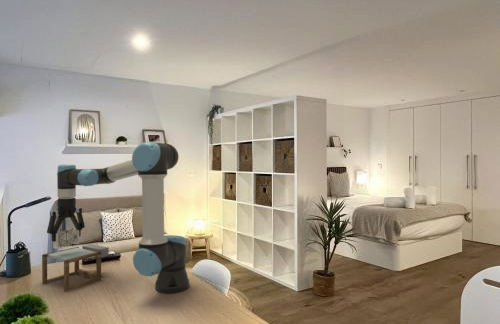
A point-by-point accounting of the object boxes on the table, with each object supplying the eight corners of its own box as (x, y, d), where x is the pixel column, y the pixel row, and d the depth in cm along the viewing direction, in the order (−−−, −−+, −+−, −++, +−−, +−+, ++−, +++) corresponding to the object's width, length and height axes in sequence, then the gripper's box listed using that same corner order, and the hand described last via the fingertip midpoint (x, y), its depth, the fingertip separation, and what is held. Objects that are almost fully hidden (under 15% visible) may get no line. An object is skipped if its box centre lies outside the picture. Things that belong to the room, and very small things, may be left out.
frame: (101, 280, 160) (101, 252, 160) (65, 292, 145) (65, 261, 145) (77, 273, 170) (77, 246, 170) (42, 283, 155) (42, 254, 155)
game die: (68, 255, 154) (68, 240, 149) (51, 248, 154) (51, 233, 149) (80, 241, 162) (81, 227, 156) (64, 235, 162) (64, 220, 156)
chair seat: (109, 255, 166) (109, 247, 166) (67, 267, 147) (66, 258, 147) (90, 251, 174) (90, 243, 174) (47, 261, 156) (47, 253, 156)
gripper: (84, 195, 166) (83, 240, 167) (37, 199, 148) (37, 250, 148) (93, 196, 162) (93, 242, 163) (46, 200, 144) (46, 252, 144)
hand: (66, 245), depth 155 cm, fingers closed on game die, 9 cm apart
